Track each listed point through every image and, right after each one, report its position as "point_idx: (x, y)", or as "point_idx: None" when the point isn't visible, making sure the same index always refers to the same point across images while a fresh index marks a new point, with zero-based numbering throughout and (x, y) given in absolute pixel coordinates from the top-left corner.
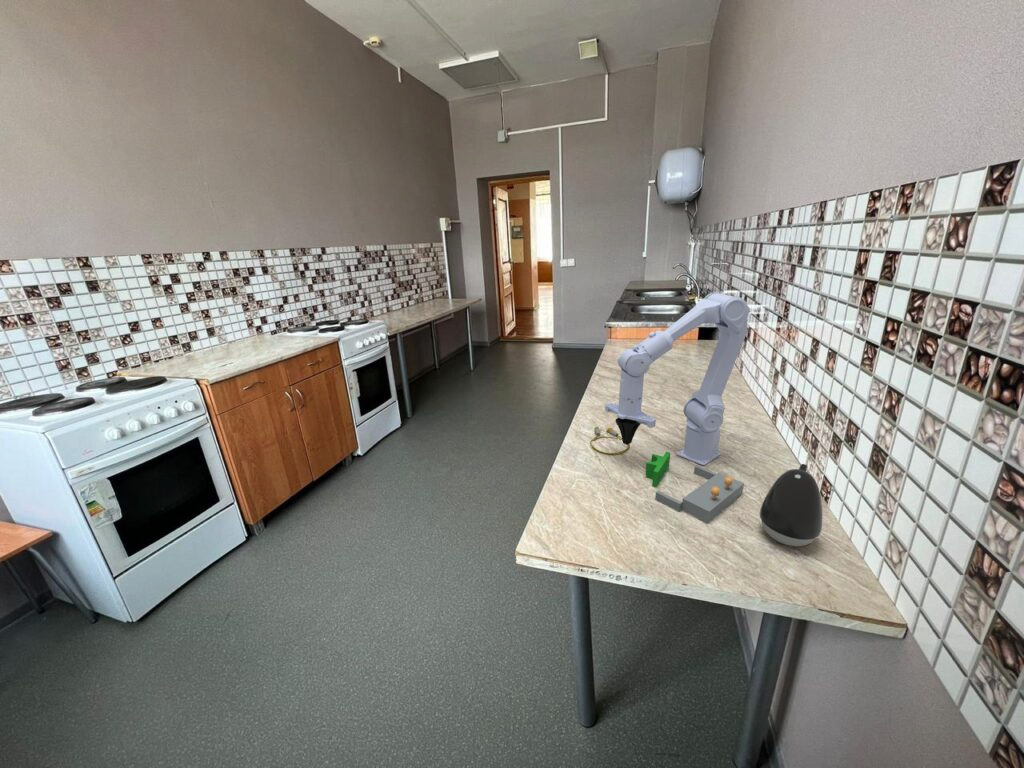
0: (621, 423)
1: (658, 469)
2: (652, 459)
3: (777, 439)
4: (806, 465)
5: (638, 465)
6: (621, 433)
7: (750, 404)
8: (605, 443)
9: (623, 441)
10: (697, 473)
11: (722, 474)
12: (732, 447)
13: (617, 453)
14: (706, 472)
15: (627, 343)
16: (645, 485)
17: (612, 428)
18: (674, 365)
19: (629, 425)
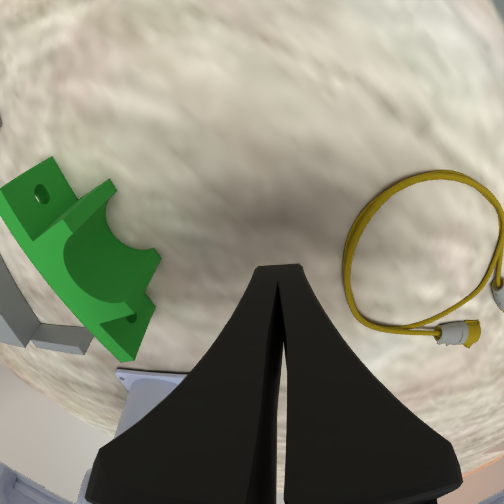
0: (292, 492)
1: (6, 219)
2: (129, 285)
3: None
4: None
5: (209, 231)
6: (319, 327)
7: None
8: (453, 261)
9: (290, 273)
10: (77, 330)
11: (18, 346)
12: None
13: (357, 229)
14: (52, 340)
15: (492, 459)
16: (63, 134)
17: (466, 346)
18: None
19: (95, 484)
